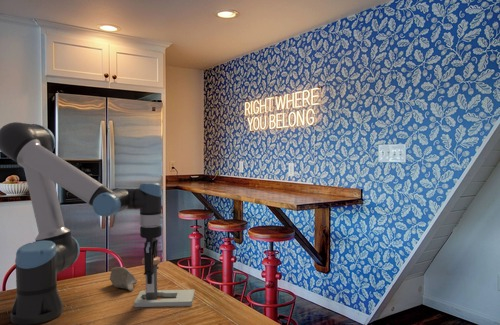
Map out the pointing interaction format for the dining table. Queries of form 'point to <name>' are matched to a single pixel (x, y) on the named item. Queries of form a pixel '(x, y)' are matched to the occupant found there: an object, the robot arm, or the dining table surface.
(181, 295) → the keyhole board
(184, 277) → the dining table surface
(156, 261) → the peg
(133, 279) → the decorative stone
